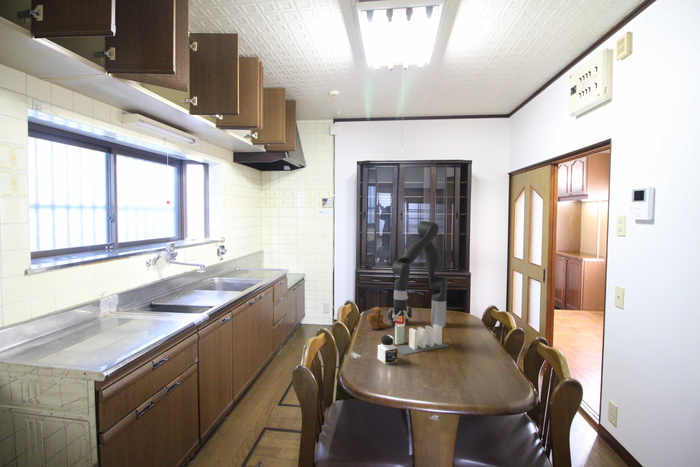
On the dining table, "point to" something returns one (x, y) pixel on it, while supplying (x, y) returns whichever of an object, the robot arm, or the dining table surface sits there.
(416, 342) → the domino
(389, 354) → the medicine bottle
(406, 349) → the runner mat
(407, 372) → the dining table surface
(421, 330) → the domino
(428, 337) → the domino
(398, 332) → the domino
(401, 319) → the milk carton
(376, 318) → the stuffed squirrel
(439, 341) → the domino
